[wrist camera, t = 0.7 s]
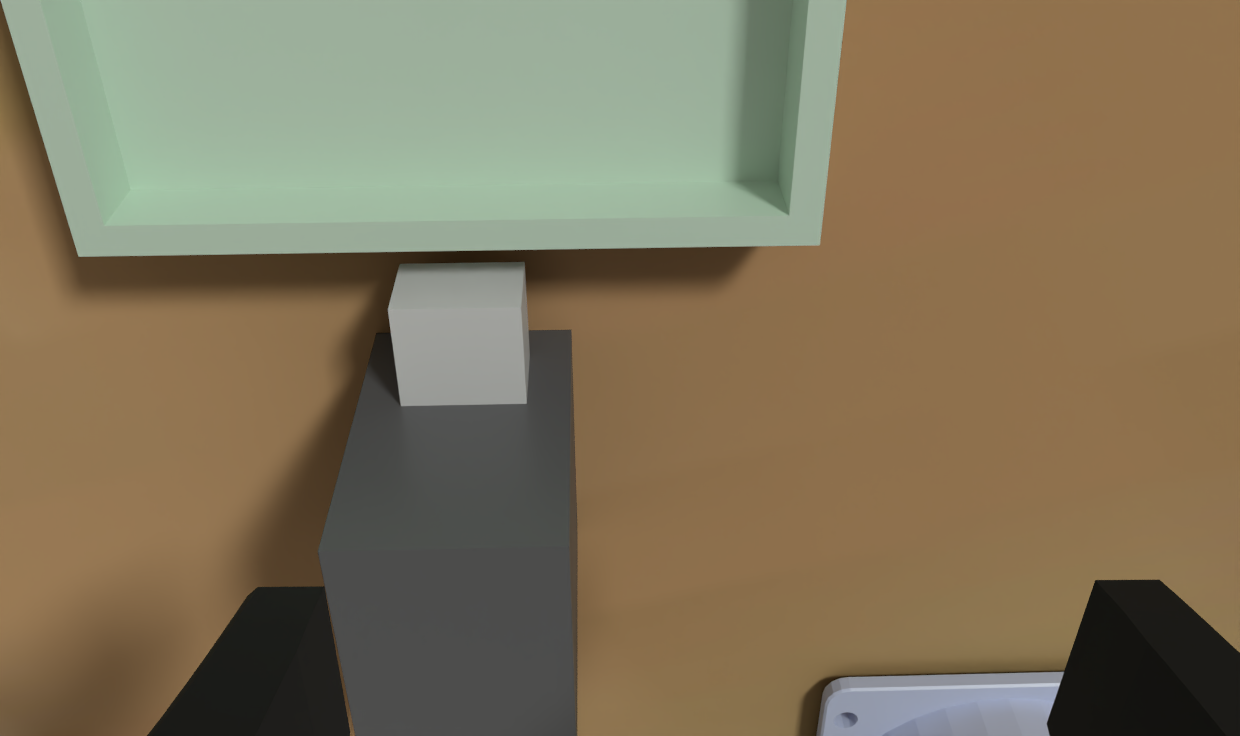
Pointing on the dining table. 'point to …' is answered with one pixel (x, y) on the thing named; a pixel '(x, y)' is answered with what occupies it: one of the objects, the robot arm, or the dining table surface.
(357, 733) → the plug
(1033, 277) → the dining table surface
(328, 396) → the dining table surface
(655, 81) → the tray
